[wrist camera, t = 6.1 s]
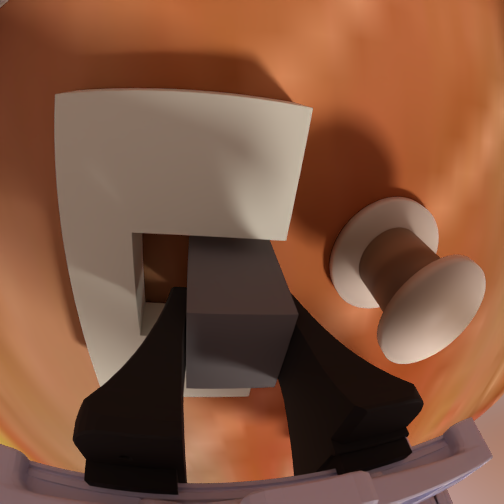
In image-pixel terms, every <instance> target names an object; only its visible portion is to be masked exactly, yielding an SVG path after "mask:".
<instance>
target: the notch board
mask: <svg viewBox="0 0 504 504" xmlns="http://www.w3.org/2000/svg"><path fill="white" fill-rule="evenodd" d="M312 111H313V108H311V107H308V106H304V105H301V104H298V103H295V102H290V101H284V100H278V99H271V98H264V97H257V96H250V95H242V94H233V93H224V92H213V91H201V90H186V89H163V88H110V89H88V90H77V91H71V92H65V93H60V94H55V112H54V142H55V168H56V183H57V195H58V205H59V214H60V222H61V229H62V236H63V243H64V249H65V255H66V261H67V266H68V271H69V276H70V281H71V286H72V290H73V295H74V299H75V304H76V308H77V312H78V316H79V320H80V323H81V327H82V331H83V334H84V338H85V341H86V345H87V348H88V351H89V355H90V358H91V361H92V364H93V367H94V370H95V373H96V376H97V379H98V382H99V384H100V387H101V386H102V385H103V384H105V383H106V382H107V381H108V380H109V379H110V378H111V377H112V376H113V375H114V374H115V373H116V372H117V371H118V370H120V368H121V367H122V366H123V365H124V364H125V363H126V362H127V361H128V360H129V359H130V357H131V356H132V355H133V354H134V353H135V352H136V350H137V349H138V348H139V346H140V345H141V344H142V343H143V341H144V340H145V338H146V337H147V335H148V334H149V332H150V331H151V329H152V328H153V326H154V324H155V323H156V321H157V319H158V317H159V316H160V314H161V312H162V310H163V308H164V306H165V304H166V303H149V302H146V301H145V286H144V268H143V242H142V233H153V234H174V235H193V236H212V237H230V238H248V239H265V240H282V241H286V238H287V234H288V229H289V224H290V220H291V215H292V210H293V206H294V201H295V196H296V191H297V187H298V182H299V177H300V172H301V167H302V162H303V157H304V152H305V147H306V142H307V137H308V132H309V126H310V121H311V116H312ZM250 389H251V388H235V389H192V388H186V371H185V382H184V395H183V397H244V396H249V393H250Z"/></svg>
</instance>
